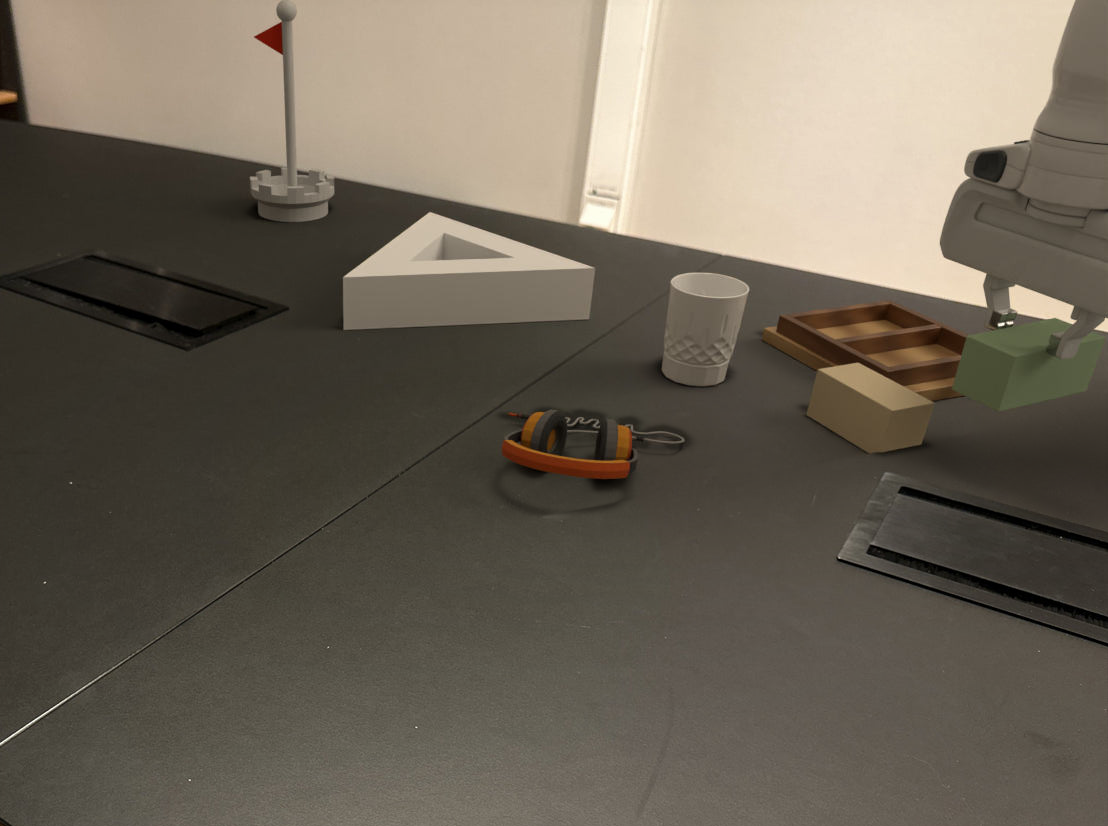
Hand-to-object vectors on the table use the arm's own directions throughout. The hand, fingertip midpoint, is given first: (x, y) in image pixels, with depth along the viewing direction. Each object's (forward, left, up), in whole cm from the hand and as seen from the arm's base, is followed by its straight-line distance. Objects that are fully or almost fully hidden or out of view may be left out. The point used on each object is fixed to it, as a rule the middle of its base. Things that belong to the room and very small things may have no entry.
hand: (1026, 342), depth 88 cm
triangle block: (+24, -55, -13) cm, 61 cm away
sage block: (-1, 0, -5) cm, 5 cm away
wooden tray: (-10, -24, -13) cm, 29 cm away
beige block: (+4, -10, -13) cm, 17 cm away
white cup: (+12, -28, -13) cm, 33 cm away
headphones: (+34, -14, -13) cm, 39 cm away
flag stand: (+35, -103, -13) cm, 109 cm away
